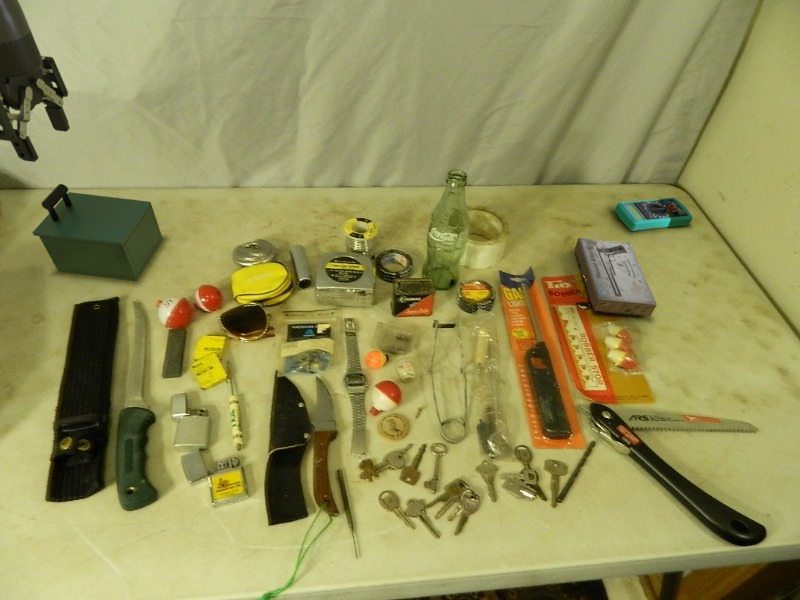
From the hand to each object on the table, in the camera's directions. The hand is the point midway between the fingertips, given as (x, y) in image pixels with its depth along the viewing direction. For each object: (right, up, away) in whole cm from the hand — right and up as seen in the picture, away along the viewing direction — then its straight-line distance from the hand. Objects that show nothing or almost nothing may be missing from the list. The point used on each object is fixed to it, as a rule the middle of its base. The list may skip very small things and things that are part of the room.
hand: (47, 144), depth 79 cm
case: (+1, -15, +15) cm, 22 cm away
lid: (+2, -10, +10) cm, 14 cm away
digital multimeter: (+106, -6, +35) cm, 112 cm away
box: (+91, -20, +20) cm, 95 cm away
